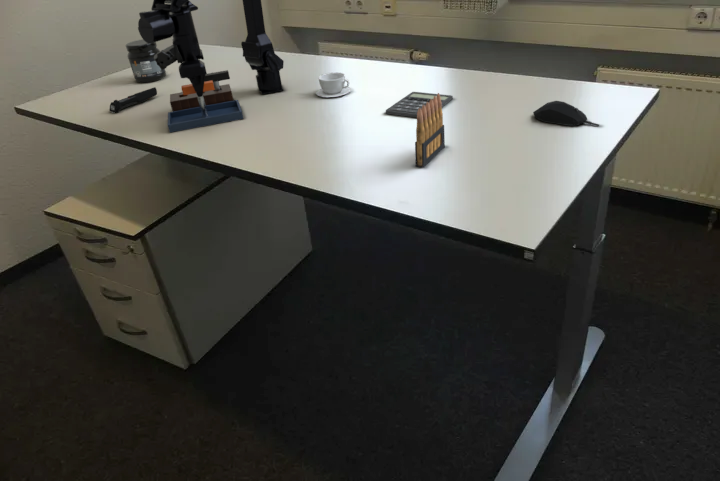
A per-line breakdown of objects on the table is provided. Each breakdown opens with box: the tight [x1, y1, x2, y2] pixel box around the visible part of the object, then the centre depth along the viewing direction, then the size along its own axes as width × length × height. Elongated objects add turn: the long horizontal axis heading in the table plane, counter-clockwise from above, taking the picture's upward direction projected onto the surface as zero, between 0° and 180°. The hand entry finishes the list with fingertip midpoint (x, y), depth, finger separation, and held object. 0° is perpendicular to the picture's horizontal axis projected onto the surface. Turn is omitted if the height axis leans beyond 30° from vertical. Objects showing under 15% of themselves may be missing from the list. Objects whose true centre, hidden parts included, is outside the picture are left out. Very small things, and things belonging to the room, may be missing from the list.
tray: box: [167, 99, 244, 133], centre depth 146 cm, size 19×11×2 cm, turn 106°
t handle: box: [180, 81, 215, 118], centre depth 144 cm, size 8×2×9 cm, turn 106°
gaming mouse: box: [532, 100, 600, 127], centre depth 122 cm, size 6×15×4 cm, turn 49°
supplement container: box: [125, 38, 167, 84], centre depth 183 cm, size 10×10×12 cm
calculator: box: [385, 91, 454, 118], centre depth 139 cm, size 12×1×15 cm
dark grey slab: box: [204, 69, 231, 91], centre depth 153 cm, size 8×2×9 cm, turn 106°
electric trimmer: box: [108, 86, 158, 114], centre depth 163 cm, size 4×16×3 cm, turn 142°
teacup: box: [315, 71, 352, 98], centre depth 154 cm, size 10×10×5 cm
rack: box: [169, 83, 234, 112], centre depth 153 cm, size 17×7×4 cm, turn 106°
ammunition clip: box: [414, 92, 446, 168], centre depth 111 cm, size 11×2×12 cm, turn 149°
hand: (200, 95), depth 143 cm, fingers closed on t handle, 2 cm apart
